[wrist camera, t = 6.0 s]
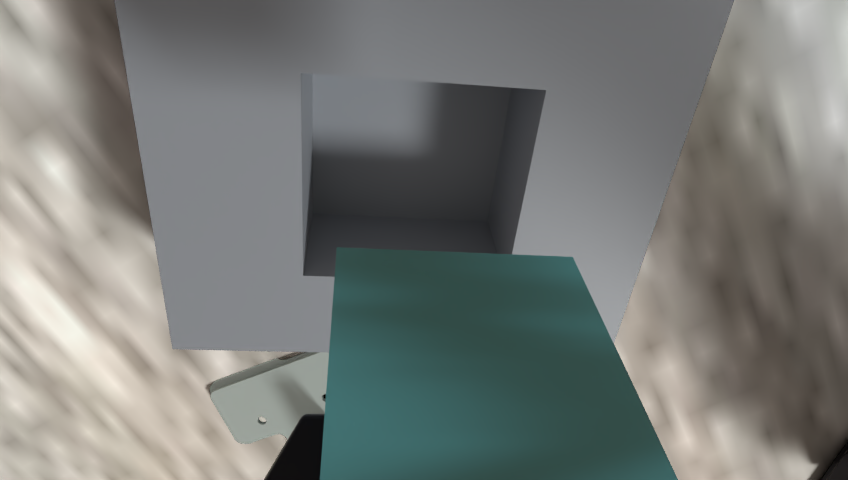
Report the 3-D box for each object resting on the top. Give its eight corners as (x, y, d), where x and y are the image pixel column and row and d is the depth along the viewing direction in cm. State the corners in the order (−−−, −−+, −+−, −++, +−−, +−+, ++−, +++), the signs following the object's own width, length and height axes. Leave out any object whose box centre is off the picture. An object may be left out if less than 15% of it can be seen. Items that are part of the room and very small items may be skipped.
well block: (672, -53, 18) (742, -25, 14) (576, 285, 24) (608, 358, 21) (156, -104, 16) (100, -86, 13) (201, 272, 23) (172, 348, 19)
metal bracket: (668, 559, 25) (335, 651, 28) (629, 464, 31) (355, 548, 33) (550, 249, 21) (175, 388, 24) (530, 204, 27) (227, 321, 29)
